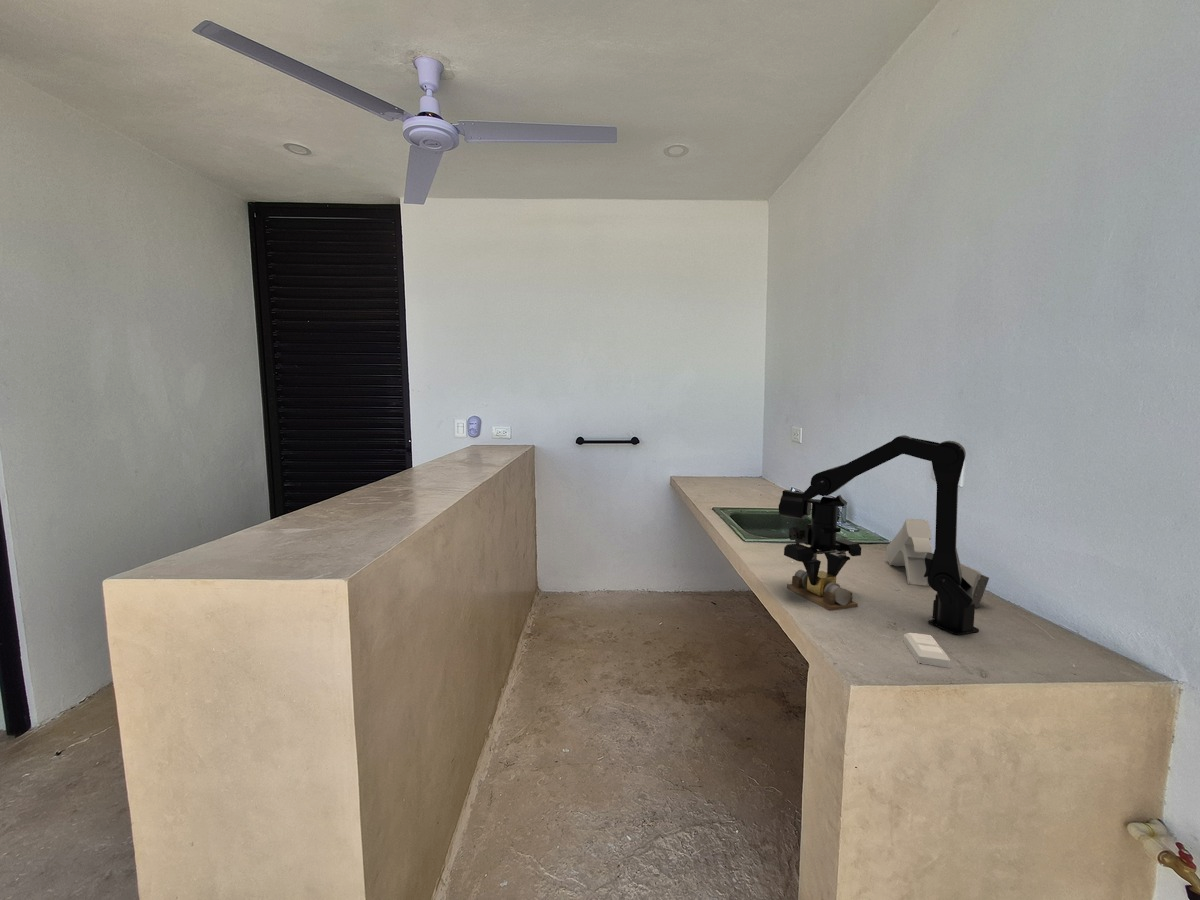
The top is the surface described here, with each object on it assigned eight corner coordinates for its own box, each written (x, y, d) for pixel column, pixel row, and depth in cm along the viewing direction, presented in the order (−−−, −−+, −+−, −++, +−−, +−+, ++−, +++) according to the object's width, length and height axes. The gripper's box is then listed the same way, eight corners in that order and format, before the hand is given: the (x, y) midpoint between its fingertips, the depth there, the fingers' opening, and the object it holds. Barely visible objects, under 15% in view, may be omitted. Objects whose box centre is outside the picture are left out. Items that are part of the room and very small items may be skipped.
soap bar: (931, 646, 96) (932, 633, 95) (949, 670, 87) (950, 656, 87) (903, 642, 97) (904, 630, 97) (918, 665, 88) (919, 651, 88)
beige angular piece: (909, 548, 146) (930, 517, 130) (918, 601, 137) (942, 576, 121) (885, 546, 148) (904, 516, 132) (893, 598, 139) (913, 573, 123)
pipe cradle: (857, 606, 114) (858, 586, 113) (829, 610, 111) (830, 589, 111) (812, 584, 128) (812, 566, 128) (786, 587, 126) (787, 569, 125)
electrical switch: (936, 594, 122) (942, 558, 121) (956, 596, 122) (963, 560, 121) (964, 609, 113) (971, 571, 112) (986, 612, 113) (993, 573, 112)
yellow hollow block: (836, 595, 118) (837, 577, 117) (821, 596, 116) (822, 578, 116) (820, 587, 123) (821, 570, 122) (805, 588, 121) (806, 571, 121)
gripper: (830, 512, 128) (827, 570, 130) (770, 517, 123) (768, 576, 124) (864, 522, 118) (861, 584, 119) (801, 527, 112) (798, 592, 114)
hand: (821, 583), depth 119 cm, fingers open, 5 cm apart
